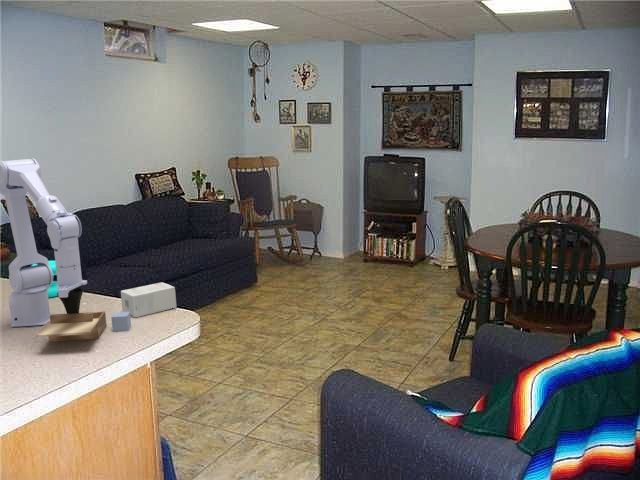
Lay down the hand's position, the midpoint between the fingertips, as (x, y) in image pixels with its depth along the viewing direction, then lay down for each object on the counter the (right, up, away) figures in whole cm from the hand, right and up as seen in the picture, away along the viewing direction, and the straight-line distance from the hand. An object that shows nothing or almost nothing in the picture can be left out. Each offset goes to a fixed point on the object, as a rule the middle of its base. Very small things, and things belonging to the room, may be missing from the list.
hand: (73, 317), depth 169 cm
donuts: (-23, +2, +42) cm, 47 cm away
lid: (+1, -2, -5) cm, 5 cm away
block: (+10, -4, +7) cm, 13 cm away
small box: (+8, +1, +18) cm, 20 cm away
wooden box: (0, -5, +4) cm, 6 cm away
